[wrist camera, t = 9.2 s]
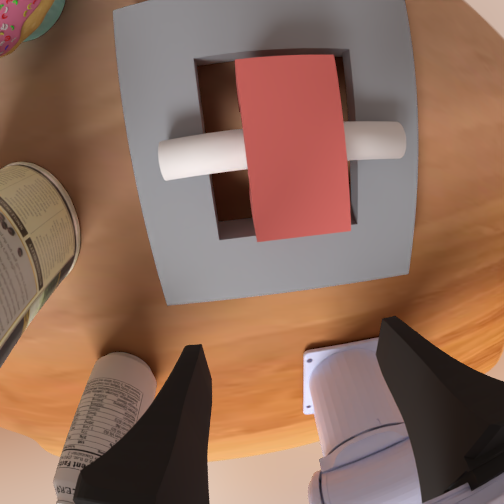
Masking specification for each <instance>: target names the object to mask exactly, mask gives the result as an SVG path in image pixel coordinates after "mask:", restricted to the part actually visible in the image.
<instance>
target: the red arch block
mask: <svg viewBox="0 0 504 504" xmlns="http://www.w3.org/2000/svg"><path fill="white" fill-rule="evenodd" d="M235 72H236V89H237V97H238V105H239V112H241V120H242V128H243V136H244V144H245V152H246V160H247V168H248V177H249V185H250V188H249V194H250V203H251V211H252V217H253V222H254V228H255V233H256V238H257V242H264V241H272V240H280V239H288V238H297V237H305V236H313V235H322V234H330V233H339V232H347V231H351V214H350V194H349V178H348V165H347V153H346V142H345V132H344V123H343V114H342V106H341V98H340V91H339V84H338V77H337V70H336V64H335V58H334V55H284V56H267V57H255V58H244V59H235Z"/></svg>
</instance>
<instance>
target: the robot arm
mask: <svg viewBox="0 0 504 504" xmlns="http://www.w3.org/2000/svg"><path fill="white" fill-rule="evenodd" d="M308 359H309V360H308ZM211 407H212V378H211V375H210V372H209V368H208V365H207V361H206V358H205V355H204V351H203V348H202V344H199V345H186V346H185V348H184V349H183V351H182V353H181V355H180V357H179V359H178V361H177V363H176V365H175V367H174V369H173V370H172V372H171V374H170V376H169V377H168V379H167V381H166V382H165V384H164V386H163V387H162V389H161V390H160V392H159V393H158V395H157V396H156V398H155V399H154V401H153V402H152V404H151V405H150V406H149V408H148V409H147V410H146V412H145V413H144V414H143V415H142V416H141V418H140V419H139V420H138V421H137V422H136V424H135V425H134V426H133V427H132V428H131V429H130V430H129V431H128V432H127V433H126V434H125V435H124V436H123V437H122V438H121V439H120V440H119V441H118V442H117V443H116V444H115V445H113V446H112V447H111V448H110V449H109V450H108V451H107V452H105V453H104V454H103V455H102V456H100V457H99V458H98V459H96V460H95V461H93V462H92V463H90V464H89V465H88V466H86V467H85V468H83V469H81V471H80V473H79V476H78V479H77V483H76V487H75V491H74V496H73V501H74V503H75V504H209V490H208V466H207V450H208V438H209V428H210V418H211ZM303 412H304V414H313V413H314V417H315V421H316V426H317V430H318V435H319V439H320V443H321V447H322V452H323V456H324V457H323V458H321V459H319V461H320V466H321V470H320V471H317V472H315V473H314V475H313V476H312V480H311V481H310V483H309V487H308V498H309V504H504V382H503V381H500V380H497V379H495V378H492V377H490V376H487V375H485V374H483V373H480V372H478V371H476V370H474V369H472V368H470V367H468V366H466V365H465V364H463V363H461V362H459V361H457V360H456V359H454V358H452V357H451V356H449V355H448V354H446V353H445V352H443V351H442V350H440V349H439V348H437V347H436V346H434V345H433V344H432V343H430V342H429V341H428V340H426V339H425V338H424V337H422V336H421V335H420V334H418V333H417V332H416V331H414V330H413V329H412V328H411V327H409V326H408V325H407V324H405V323H404V322H403V321H402V320H400V319H399V318H397V317H396V316H393V317H388V318H383V319H382V323H381V328H380V334H379V337H377V338H372V339H367V340H362V341H357V342H352V343H346V344H341V345H335V346H329V347H324V348H317V349H311V350H307V351H305V352H304V354H303Z"/></svg>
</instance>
